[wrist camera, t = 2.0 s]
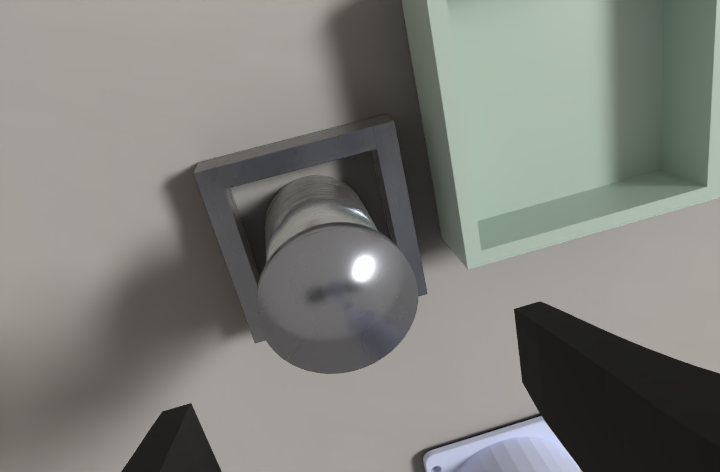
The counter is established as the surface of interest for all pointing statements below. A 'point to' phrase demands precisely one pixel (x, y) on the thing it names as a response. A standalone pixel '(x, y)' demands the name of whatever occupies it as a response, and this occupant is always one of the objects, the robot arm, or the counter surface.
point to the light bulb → (331, 280)
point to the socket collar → (292, 156)
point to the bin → (564, 115)
